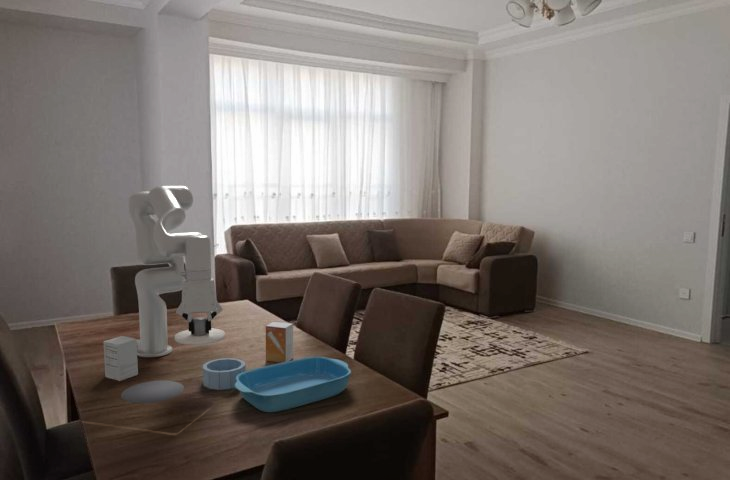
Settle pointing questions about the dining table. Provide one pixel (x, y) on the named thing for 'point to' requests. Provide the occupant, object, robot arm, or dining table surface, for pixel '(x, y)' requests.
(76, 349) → the dining table surface
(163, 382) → the mat
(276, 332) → the small box
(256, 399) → the casserole dish
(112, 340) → the supplement box
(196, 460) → the dining table surface
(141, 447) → the dining table surface
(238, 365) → the bowl
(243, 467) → the dining table surface
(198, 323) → the lid
